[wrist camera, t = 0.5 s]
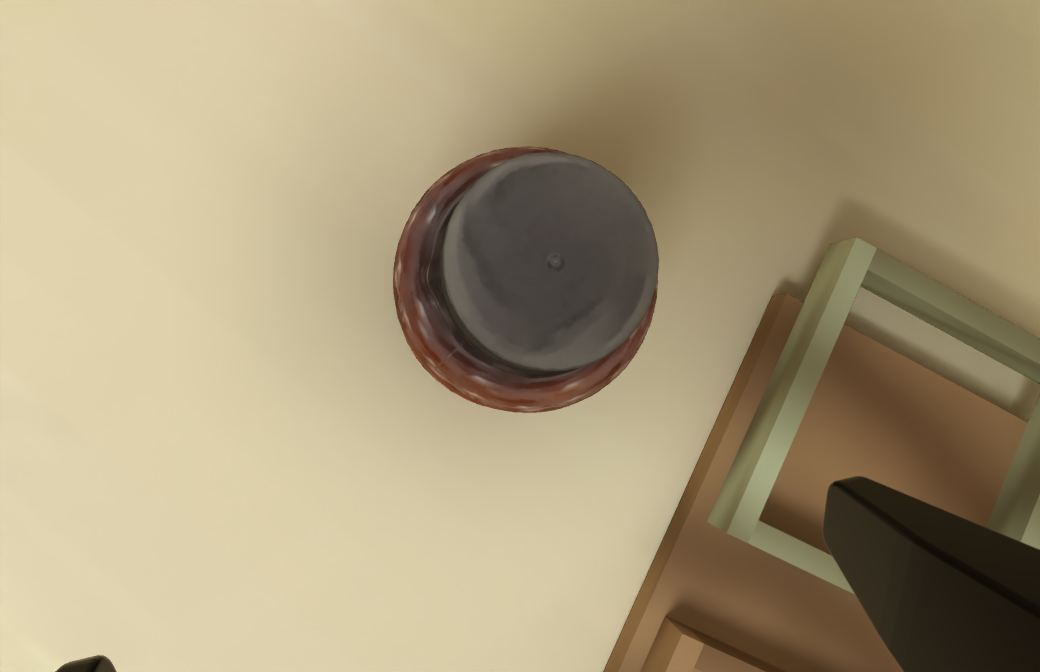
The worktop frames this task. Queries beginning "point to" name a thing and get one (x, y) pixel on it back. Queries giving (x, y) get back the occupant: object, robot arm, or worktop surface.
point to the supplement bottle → (526, 279)
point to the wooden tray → (827, 476)
